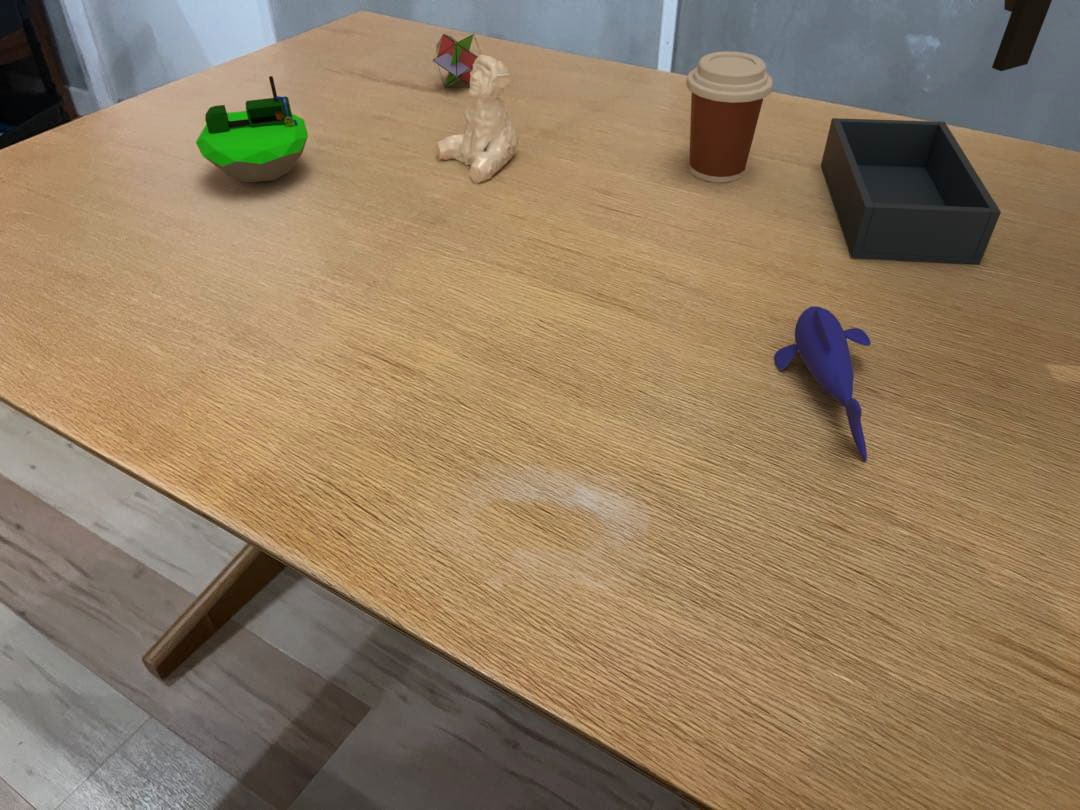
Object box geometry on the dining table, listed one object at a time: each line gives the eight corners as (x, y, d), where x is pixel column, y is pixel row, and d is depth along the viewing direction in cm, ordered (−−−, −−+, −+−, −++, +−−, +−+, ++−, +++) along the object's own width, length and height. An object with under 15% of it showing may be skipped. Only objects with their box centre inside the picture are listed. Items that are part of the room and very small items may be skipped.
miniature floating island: (311, 147, 100) (291, 54, 92) (318, 191, 91) (298, 92, 84) (208, 160, 97) (180, 65, 90) (206, 206, 89) (175, 106, 82)
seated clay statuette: (431, 156, 97) (421, 52, 89) (490, 137, 101) (485, 35, 93) (478, 185, 92) (470, 77, 84) (538, 163, 96) (537, 58, 88)
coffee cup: (743, 194, 90) (761, 84, 82) (664, 177, 93) (675, 69, 85) (767, 161, 96) (787, 55, 88) (693, 145, 99) (705, 42, 91)
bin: (929, 169, 94) (944, 121, 90) (979, 264, 79) (1001, 212, 75) (820, 165, 95) (831, 117, 91) (850, 258, 80) (865, 206, 76)
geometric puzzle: (505, 67, 113) (473, 12, 110) (477, 84, 108) (443, 27, 106) (473, 91, 118) (442, 39, 116) (444, 107, 114) (412, 54, 111)
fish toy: (769, 352, 71) (755, 291, 67) (859, 327, 70) (850, 263, 65) (814, 479, 60) (800, 414, 56) (922, 453, 58) (916, 384, 54)
